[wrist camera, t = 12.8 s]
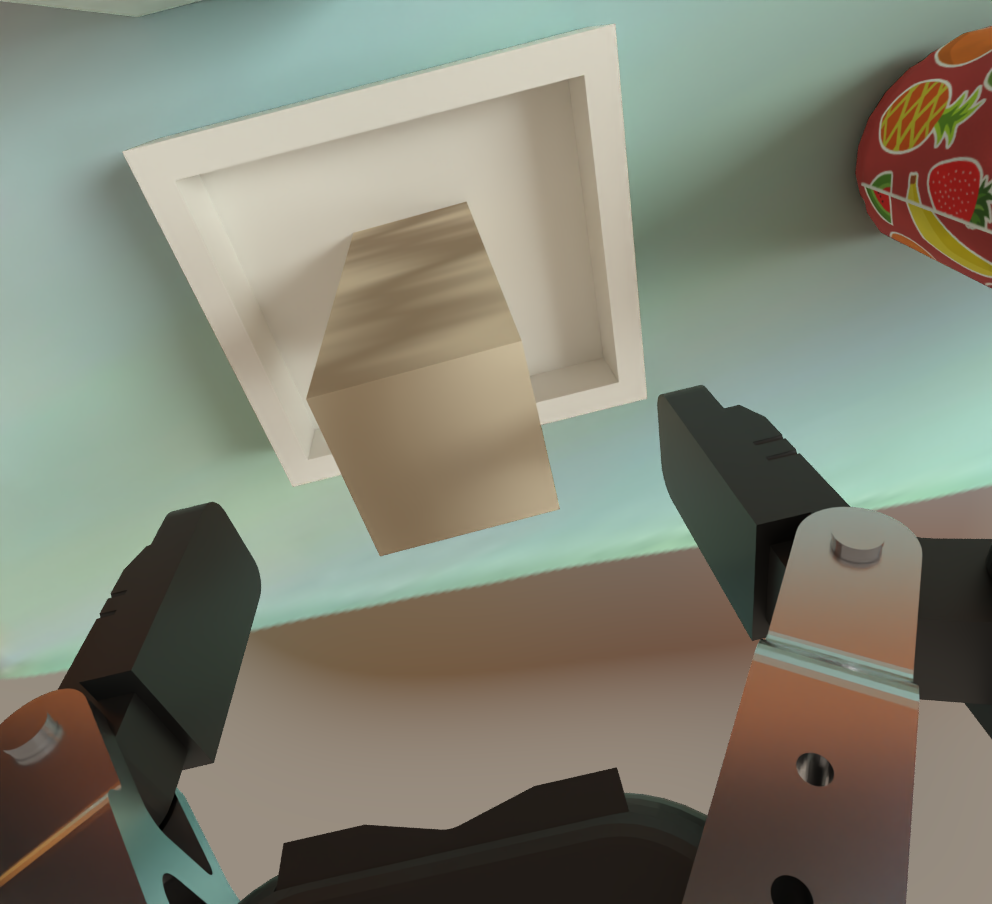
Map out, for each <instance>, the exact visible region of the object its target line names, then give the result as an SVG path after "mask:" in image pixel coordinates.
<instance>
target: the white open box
mask: <svg viewBox="0 0 992 904" xmlns="http://www.w3.org/2000/svg"><path fill="white" fill-rule="evenodd" d="M0 1H5V2H13V3H22V4H30V5H39V6H47V7H56V8H64V9H73V10H81V11H90V12H98V13H107V14H115V15H124V16H133V17H141V16H145V15H148V14H152V13H156V12H160V11H164V10H167V9H171V8H175V7H179V6H183V5H186V4H190V3H194V2H198V1H202V0H0Z"/></svg>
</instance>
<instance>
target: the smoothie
mask: <svg viewBox="0 0 992 904" xmlns="http://www.w3.org/2000/svg"><path fill="white" fill-rule="evenodd" d="M855 174H856V178H857V183H858V188H859V192H860V195H861V197H862V198H863V200H864V201H865V206H866V210H867V213H868V215H869V216H870V218H871V219H872V220H873V222H874V223H875V225H876V226H877V228H878V229H879V231H880V232H881V233H883V234H885V235H887V236H889V237H891V238H893V239H894V240H896V241H898V242H900V243H902V244H905V245H907V246H909V247H911V248H913V249H914V250H916V251H918V252H920V253H922V254H924V255H926V256H928V257H930V258H932V259H934V260H936V261H938V262H940V263H942V264H944V265H946V266H948V267H950V268H952V269H954V270H956V271H958V272H960V273H962V274H964V275H966V276H968V277H970V278H972V279H974V280H976V281H978V282H980V283H982V284H984V285H986V286H988V287H990V288H992V26H989V27H986V28H982V29H978V30H974V31H971V32H967V33H963V34H962V35H960V36H959V37H957V38H955V39H954V40H952V41H950V42H949V43H947V44H945V45H944V46H942V47H940V48H939V49H937V50H936V51H934V52H932V53H931V54H929V55H928V56H927V57H926V58H925V59H924V60H922V61H921V62H919V63H917V64H916V65H914V66H913V67H911V68H909V69H908V70H907V71H906V72H905V73H904V74H903V75H902V76H901V77H900V78H899V79H898V80H897V81H896V82H895V83H894V84H893V85H892V86H891V87H890V88H889V89H888V90H887V91H886V93H885V94H884V96H883V97H882V99H881V100H880V102H879V103H878V105H877V106H876V108H875V109H874V111H873V113H872V114H871V116H870V117H869V119H868V121H867V124H866V127H865V130H864V132H863V135H862V138H861V140H860V143H859V146H858V153H857V162H856V171H855Z"/></svg>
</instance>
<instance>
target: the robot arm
mask: <svg viewBox="0 0 992 904" xmlns="http://www.w3.org/2000/svg"><path fill="white" fill-rule="evenodd" d="M657 407H658V422H659V436H660V450H661V464H662V471H663V476H664V480H665V484H666V487H667V490H668V493H669V495H670V497H671V499H672V501H673V503H674V505H675V506H676V508H677V510H678V512H679V514H680V515H681V517H682V519H683V521H684V522H685V524H686V526H687V528H688V529H689V531H690V533H691V535H692V536H693V538H694V540H695V542H696V543H697V545H698V547H699V549H700V550H701V552H702V554H703V556H704V557H705V559H706V561H707V563H708V564H709V566H710V568H711V570H712V571H713V573H714V575H715V577H716V579H717V580H718V582H719V584H720V586H721V587H722V589H723V591H724V593H725V594H726V596H727V598H728V600H729V601H730V603H731V605H732V607H733V608H734V610H735V612H736V614H737V615H738V617H739V619H740V621H741V622H742V624H743V626H744V628H745V629H746V631H747V633H748V635H749V636H750V638H751V640H752V641H754V640H757V639H761V640H760V641H759V643H758V645H757V648H756V651H755V653H754V657H753V660H752V663H751V667H750V670H749V674H748V677H747V681H746V684H745V688H744V691H743V695H742V698H741V702H740V705H739V708H738V712H737V715H736V719H735V722H734V726H733V729H732V732H731V736H730V740H729V743H728V746H727V750H726V753H725V757H724V760H723V764H722V767H721V770H720V774H719V777H718V781H717V784H716V788H715V791H714V795H713V798H712V802H711V805H710V808H709V812H708V815H705V814H703V813H701V812H699V811H697V810H694V809H692V808H690V807H688V806H686V805H683V804H680V803H677V802H674V801H670V800H668V799H665V798H660V797H654V796H649V795H644V794H634V793H624V791H623V788H622V784H621V780H620V777H619V773H618V770H617V768H612V769H608V770H603V771H599V772H595V773H590V774H586V775H582V776H577V777H573V778H568V779H564V780H560V781H556V782H551V783H546V784H542V785H537V786H534V787H532V788H530V789H528V790H526V791H524V792H522V793H520V794H519V795H517V796H515V797H513V798H511V799H509V800H507V801H505V802H503V803H501V804H499V805H498V806H496V807H494V808H492V809H490V810H488V811H486V812H484V813H482V814H481V815H479V816H477V817H475V818H473V819H471V820H469V821H467V822H465V823H463V824H462V825H460V826H457V827H455V828H452V829H447V830H438V829H421V828H407V827H391V826H390V827H389V826H376V825H362V826H357V827H353V828H348V829H344V830H340V831H335V832H331V833H326V834H322V835H317V836H314V837H309V838H305V839H300V840H296V841H291V842H287V843H284V844H283V850H282V857H281V863H280V869H279V875H277V876H276V877H274V878H272V879H270V880H269V881H267V882H266V883H264V884H263V885H262V886H260V887H258V888H257V889H255V890H254V891H252V892H251V893H250V894H249V895H247V896H246V897H245V898H244V899H243V900H241V901H240V900H239V899H238V897H237V896H236V894H235V893H234V891H233V890H232V888H231V887H230V885H229V883H228V881H227V880H226V877H225V875H224V873H223V872H222V869H221V867H220V865H219V863H218V861H217V859H216V857H215V855H214V853H213V852H212V850H211V847H210V845H209V843H208V841H207V839H206V838H205V836H204V834H203V832H202V829H201V827H200V826H199V823H198V821H197V820H196V818H195V816H194V814H193V812H192V810H191V808H190V806H189V804H188V802H187V800H186V798H185V796H184V795H183V793H181V792H180V791H179V789H178V788H177V784H178V781H179V778H180V775H181V772H182V770H185V769H190V768H194V767H198V766H203V765H207V764H211V763H214V760H215V756H216V753H217V749H218V746H219V742H220V738H221V735H222V731H223V728H224V724H225V720H226V717H227V713H228V709H229V706H230V703H231V699H232V695H233V692H234V688H235V684H236V681H237V677H238V674H239V670H240V666H241V663H242V659H243V656H244V652H245V649H246V645H247V641H248V638H249V634H250V631H251V627H252V623H253V620H254V616H255V613H256V609H257V605H258V602H259V598H260V594H261V579H260V574H259V570H258V567H257V565H256V562H255V560H254V559H253V557H252V555H251V554H250V552H249V550H248V549H247V547H246V545H245V544H244V542H243V541H242V539H241V537H240V536H239V534H238V532H237V531H236V529H235V527H234V526H233V524H232V522H231V521H230V519H229V517H228V516H227V514H226V512H225V511H224V509H223V508H222V507H221V506H220V505H219V504H217V503H215V502H209V503H205V504H201V505H197V506H193V507H189V508H185V509H180V510H176V511H172V512H170V513H169V514H168V515H167V516H166V517H165V519H164V521H163V523H162V525H161V527H160V528H159V530H158V532H157V534H156V536H155V538H154V540H153V542H152V544H151V545H149V546H146V547H145V548H144V549H143V550H142V551H141V553H140V554H139V555H138V556H137V557H136V558H135V559H134V560H133V561H132V562H131V563H130V564H129V565H128V566H127V567H126V568H125V569H124V570H123V572H122V574H121V576H120V578H119V579H118V581H117V583H116V585H115V587H114V589H113V590H112V592H111V598H108V599H107V601H106V603H105V605H104V607H103V608H102V610H101V612H100V618H99V619H96V621H95V623H94V625H93V627H92V628H91V630H90V632H89V634H88V636H87V638H86V639H85V641H84V643H83V645H82V647H81V648H80V650H79V652H78V654H77V656H76V657H75V659H74V661H73V663H72V665H71V667H70V668H69V670H68V672H67V674H66V676H65V677H64V679H63V681H62V683H61V685H60V687H59V688H58V690H56V691H52V692H49V693H47V694H44V695H41V696H39V697H38V698H35V699H34V700H32V701H30V702H28V703H27V704H25V705H24V706H22V707H21V708H20V709H18V710H17V711H15V712H14V713H13V714H11V715H10V716H9V717H8V718H7V719H5V720H4V722H2V723H1V724H0V904H906V895H907V881H908V865H909V849H910V836H911V821H912V805H913V790H914V775H915V760H916V744H917V730H918V714H919V699H922V700H936V701H948V702H962V703H965V704H966V706H967V707H968V708H969V710H970V711H971V712H972V714H973V715H974V716H975V718H976V719H977V720H978V722H979V723H980V724H981V725H982V727H983V728H984V729H985V730H986V732H987V733H988V735H989V736H990V737H991V739H992V539H931V538H919V537H916V536H915V535H914V534H913V533H912V532H911V531H910V530H909V529H908V528H907V527H906V526H905V525H903V524H902V523H900V522H899V521H897V520H895V519H894V518H892V517H889V516H887V515H885V514H882V513H879V512H876V511H873V510H869V509H864V508H857V507H850V506H849V505H848V504H847V503H846V502H845V501H844V500H843V499H842V498H841V496H840V495H839V494H838V493H837V492H836V491H835V490H834V489H833V488H832V487H831V486H830V485H829V484H828V483H827V482H826V481H825V480H824V479H823V477H822V476H821V475H820V474H819V473H818V472H817V471H816V470H815V469H814V468H813V467H812V466H811V465H810V464H809V463H808V462H807V461H806V460H805V458H804V457H803V456H802V455H801V454H800V453H799V454H797V452H796V449H795V448H794V447H793V446H792V445H791V444H790V443H789V442H788V441H787V439H786V438H785V439H783V437H782V434H781V433H780V432H779V431H778V430H777V429H776V428H775V427H774V426H773V425H772V424H771V423H770V422H769V420H768V419H767V418H766V417H764V416H762V415H760V414H757V413H755V412H753V411H751V410H749V409H747V408H745V407H743V406H740V405H737V406H733V407H728V408H723V407H722V406H721V405H720V403H719V402H718V401H717V400H716V399H715V398H714V396H713V395H712V394H711V393H710V392H709V391H708V389H707V388H706V387H705V386H703V385H699V386H694V387H690V388H686V389H682V390H678V391H674V392H670V393H665V394H661V395H659V397H658V403H657ZM762 638H766V640H763V639H762Z"/></svg>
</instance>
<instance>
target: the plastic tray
mask: <svg viewBox="0 0 992 904" xmlns="http://www.w3.org/2000/svg"><path fill="white" fill-rule="evenodd" d="M123 154H124V156H125V158H126V160H127V162H128V164H129V166H130V168H131V170H132V172H133V174H134V176H135V178H136V180H137V182H138V184H139V186H140V188H141V190H142V192H143V194H144V196H145V198H146V200H147V202H148V204H149V205H150V207H151V209H152V211H153V213H154V215H155V217H156V219H157V221H158V223H159V225H160V227H161V229H162V231H163V233H164V235H165V237H166V239H167V241H168V243H169V245H170V247H171V249H172V251H173V253H174V255H175V257H176V259H177V260H178V262H179V264H180V266H181V268H182V270H183V272H184V274H185V276H186V278H187V280H188V282H189V284H190V286H191V288H192V290H193V292H194V294H195V296H196V298H197V300H198V302H199V304H200V306H201V308H202V310H203V312H204V314H205V315H206V317H207V319H208V321H209V323H210V325H211V327H212V329H213V331H214V333H215V335H216V337H217V339H218V341H219V343H220V345H221V347H222V349H223V351H224V353H225V355H226V357H227V359H228V361H229V363H230V365H231V367H232V369H233V370H234V372H235V374H236V376H237V378H238V380H239V382H240V384H241V386H242V388H243V390H244V392H245V394H246V396H247V398H248V400H249V402H250V404H251V406H252V408H253V410H254V412H255V414H256V416H257V418H258V420H259V422H260V424H261V425H262V427H263V429H264V431H265V433H266V435H267V437H268V439H269V441H270V443H271V445H272V447H273V449H274V451H275V453H276V455H277V457H278V459H279V461H280V463H281V465H282V467H283V469H284V471H285V473H286V475H287V477H288V479H289V480H290V482H291V484H292V486H293V487H295V486H299V485H303V484H307V483H311V482H315V481H319V480H323V479H327V478H331V477H335V476H339V475H341V472H340V470H339V468H338V466H337V464H336V462H335V460H334V458H333V455H332V453H331V451H330V449H329V447H328V445H327V443H326V441H325V439H324V436H323V434H322V432H321V430H320V428H319V426H318V424H317V422H316V419H315V417H314V415H313V413H312V411H311V409H310V407H309V405H308V402H307V400H306V397H307V394H308V390H309V387H310V383H311V380H312V376H313V373H314V369H315V366H316V362H317V359H318V355H319V352H320V348H321V345H322V341H323V337H324V334H325V330H326V327H327V323H328V320H329V316H330V313H331V309H332V306H333V302H334V299H335V295H336V292H337V288H338V285H339V281H340V278H341V274H342V271H343V267H344V264H345V260H346V257H347V253H348V250H349V246H350V243H351V239H352V236H353V233H355V232H358V231H362V230H365V229H369V228H373V227H376V226H380V225H384V224H387V223H391V222H394V221H398V220H402V219H405V218H409V217H412V216H416V215H420V214H423V213H427V212H430V211H434V210H438V209H441V208H445V207H449V206H452V205H456V204H459V203H463V202H467V204H468V207H469V209H470V212H471V214H472V217H473V219H474V222H475V224H476V227H477V229H478V232H479V234H480V237H481V239H482V242H483V244H484V247H485V250H486V252H487V255H488V257H489V260H490V262H491V265H492V267H493V270H494V272H495V275H496V277H497V280H498V282H499V285H500V287H501V290H502V292H503V295H504V297H505V300H506V303H507V305H508V308H509V310H510V313H511V315H512V318H513V320H514V323H515V325H516V328H517V330H518V333H519V335H520V338H521V340H522V344H523V349H524V353H525V358H526V362H527V366H528V371H529V375H530V380H531V384H532V388H533V393H534V397H535V402H536V406H537V411H538V415H539V419H540V424H541V425H543V424H547V423H551V422H555V421H559V420H563V419H567V418H571V417H575V416H579V415H583V414H587V413H591V412H595V411H599V410H603V409H607V408H611V407H616V406H620V405H624V404H628V403H632V402H636V401H640V400H644V399H647V391H646V379H645V367H644V355H643V344H642V332H641V320H640V308H639V297H638V285H637V273H636V261H635V250H634V238H633V226H632V214H631V203H630V191H629V179H628V167H627V156H626V144H625V132H624V120H623V109H622V97H621V85H620V73H619V62H618V50H617V38H616V26H615V24H608V25H600V26H591V27H586V28H582V29H578V30H574V31H570V32H566V33H563V34H559V35H555V36H551V37H547V38H543V39H540V40H536V41H532V42H528V43H524V44H520V45H516V46H513V47H509V48H505V49H501V50H497V51H493V52H489V53H486V54H482V55H478V56H474V57H470V58H466V59H463V60H459V61H455V62H451V63H447V64H443V65H439V66H436V67H432V68H428V69H424V70H420V71H416V72H412V73H409V74H405V75H401V76H397V77H393V78H389V79H386V80H382V81H378V82H374V83H370V84H366V85H362V86H359V87H355V88H351V89H347V90H343V91H339V92H335V93H332V94H328V95H324V96H320V97H316V98H312V99H309V100H305V101H301V102H297V103H293V104H289V105H285V106H282V107H278V108H274V109H270V110H266V111H262V112H258V113H255V114H251V115H247V116H243V117H239V118H235V119H232V120H228V121H224V122H220V123H216V124H212V125H208V126H205V127H201V128H197V129H193V130H189V131H185V132H181V133H178V134H174V135H170V136H166V137H162V138H158V139H156V140H153V141H150V142H147V143H145V144H142V145H139V146H136V147H134V148H131V149H128V150H125V151H123Z"/></svg>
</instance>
